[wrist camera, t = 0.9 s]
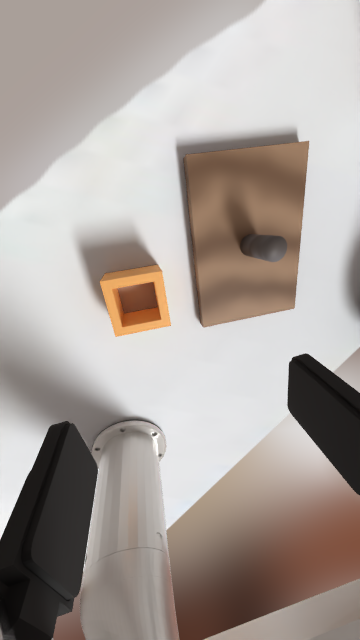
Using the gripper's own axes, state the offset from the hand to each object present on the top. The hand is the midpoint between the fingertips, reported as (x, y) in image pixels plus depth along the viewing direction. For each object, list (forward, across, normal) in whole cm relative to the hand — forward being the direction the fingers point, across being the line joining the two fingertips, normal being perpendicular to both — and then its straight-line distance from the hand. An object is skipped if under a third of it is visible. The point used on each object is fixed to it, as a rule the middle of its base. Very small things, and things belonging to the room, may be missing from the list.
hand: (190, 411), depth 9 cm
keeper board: (+22, -13, -2) cm, 25 cm away
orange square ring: (+21, +2, +1) cm, 22 cm away
